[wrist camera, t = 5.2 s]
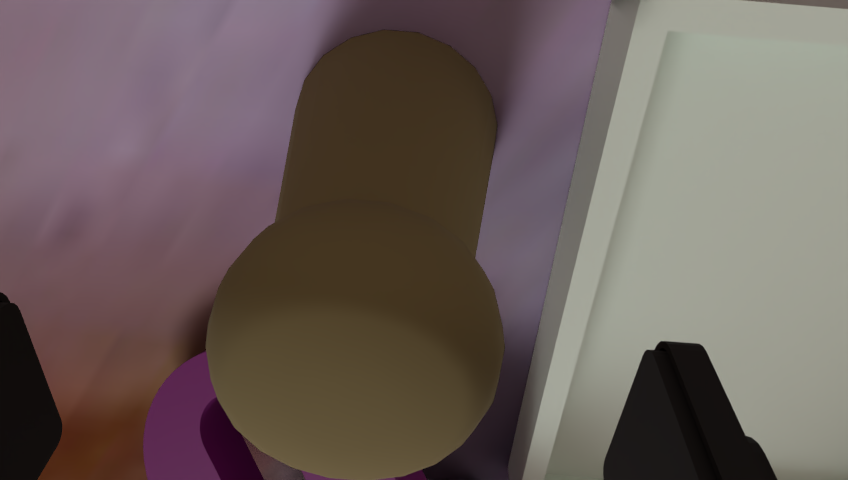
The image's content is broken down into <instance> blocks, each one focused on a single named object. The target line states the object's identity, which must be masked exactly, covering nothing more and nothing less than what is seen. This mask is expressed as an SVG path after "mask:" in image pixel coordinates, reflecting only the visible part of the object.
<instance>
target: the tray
mask: <svg viewBox="0 0 848 480" xmlns="http://www.w3.org/2000/svg"><path fill="white" fill-rule="evenodd" d="M660 341H670V342H684V343H698V344H701V345H702V346H703V347H704V348H705V350H706V352H707V354H708V356H709V358H710V360H711V362H712V364H713V367H714V369H715V371H716V373H717V375H718V377H719V380H720V382H721V384H722V386H723V388H724V390H725V392H726V395H727V397H728V399H729V401H730V403H731V405H732V408H733V410H734V412H735V414H736V416H737V418H738V421H739V423H740V425H741V427H742V429H743V431H744V433H745V436H748V437H752V438H753V439H754V440H755V441H756V442H758V443H759V445H760V446H761V448H762V450H763V451H764V453H765V455H766V457H767V459H768V461H769V463H770V465H771V467H772V469H773V471H774V473H775V475H776V477H777V480H848V0H612V1H611V5H610V10H609V14H608V18H607V23H606V27H605V32H604V36H603V41H602V45H601V50H600V54H599V59H598V63H597V68H596V72H595V77H594V81H593V86H592V90H591V95H590V99H589V104H588V108H587V113H586V117H585V122H584V126H583V131H582V135H581V140H580V144H579V149H578V153H577V158H576V162H575V167H574V171H573V176H572V180H571V185H570V189H569V194H568V198H567V203H566V207H565V212H564V216H563V221H562V225H561V230H560V234H559V239H558V243H557V248H556V252H555V257H554V261H553V266H552V270H551V275H550V279H549V284H548V288H547V293H546V297H545V302H544V306H543V311H542V315H541V320H540V324H539V329H538V333H537V338H536V342H535V347H534V351H533V355H532V360H531V364H530V369H529V373H528V378H527V382H526V387H525V391H524V396H523V400H522V405H521V409H520V414H519V418H518V423H517V427H516V432H515V436H514V441H513V445H512V450H511V454H510V459H509V463H508V478H509V480H604V479H603V466H604V460H605V457H606V454H607V452H608V449H609V446H610V443H611V441H612V438H613V435H614V433H615V430H616V427H617V424H618V422H619V419H620V416H621V413H622V411H623V408H624V405H625V402H626V400H627V397H628V394H629V392H630V389H631V386H632V383H633V381H634V378H635V375H636V372H637V370H638V367H639V364H640V362H641V359H642V356H643V354H644V352H645V351H646V350H655V348H656V346H657V344H658V343H659V342H660Z"/></svg>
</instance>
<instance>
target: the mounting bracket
mask: <svg viewBox="0 0 848 480" xmlns="http://www.w3.org/2000/svg"><path fill="white" fill-rule="evenodd" d="M143 449H144V462H145V468H146V474H147V478H148V480H264V479H263V477H262V475H261V473H260V471H259V469H258V467H257V465H256V463H255V461H254V459H253V457H252V455H251V453H250V451H249V449H248V447H247V445H246V443H245V441H244V439H243V437H242V435H241V433H240V432H239V431H238V430H236V429H235V428H234V426H233V424H232V423H231V421H230V419H229V418H228V416H227V414H226V413H225V411H224V409H223V408H222V406H221V404H220V403H219V401H218V398H217V396H216V393H215V390H214V388H213V385H212V382H211V379H210V372H209V366H208V359H207V353H206V350H205V351H203V352H201V353H200V354H198V355H196V356H195V357H193V358H191V359H190V360H188V361H186V362H185V363H183V364H182V365H181V366H180V367H178V368H177V369H176V370H175V371H174V372H173V373H172V374H171V375H170V376H169V377H168V378H167V379H166V380H165V382H164V383H163V384H162V386H161V387H160V389H159V390H158V392H157V394H156V396H155V398H154V399H153V402H152V404H151V407H150V409H149V412H148V416H147V420H146V424H145V431H144V445H143ZM301 471H302V470H301ZM302 473H303V475H304V477H305V479H306V480H348V479H335V478H327V477H324V476H320V475H316V474H313V473H309V472H306V471H302ZM378 480H427V479H426V477H425V475H424V473H423V471H422V470H419V471H416V472H413V473H411V474H408V475H405V476H401V477H394V478H386V479H378Z"/></svg>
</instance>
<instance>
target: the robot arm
mask: <svg viewBox="0 0 848 480" xmlns="http://www.w3.org/2000/svg"><path fill="white" fill-rule="evenodd" d="M61 433H62V422H61V418H60V416H59V413H58V410H57V408H56V405H55V402H54V400H53V397H52V394H51V392H50V389H49V386H48V384H47V381H46V378H45V376H44V373H43V370H42V368H41V365H40V363H39V360H38V357H37V355H36V352H35V349H34V347H33V344H32V341H31V339H30V336H29V333H28V331H27V328H26V325H25V323H24V320H23V317H22V315H21V312H20V310H19V308H18V306H17V305H15V304H14V303H10V301H9V300H8V298H7V296H6V295H4V294H3V293H0V480H37V479H38V477H39V476H40V474H41V472H42V471H43V469H44V467H45V466H46V464H47V462H48V461H49V459H50V457H51V456H52V454H53V452H54V451H55V449H56V447H57V445H58V443H59V441H60V438H61ZM603 479H604V480H777V477H776V475H775V473H774V471H773V469H772V467H771V465H770V463H769V461H768V459H767V457H766V455H765V453H764V451H763V450H762V448H761V446H760V445H759V443H758V442H756V441H755V440H754V439H753V438H752V437H748V436H745V433H744V431H743V429H742V427H741V425H740V423H739V421H738V418H737V416H736V414H735V412H734V410H733V408H732V405H731V403H730V401H729V399H728V397H727V395H726V392H725V390H724V388H723V386H722V384H721V382H720V380H719V377H718V375H717V373H716V371H715V369H714V367H713V364H712V362H711V360H710V358H709V356H708V354H707V352H706V350H705V348H704V347H703V346H702V345H701V344H698V343H684V342H670V341H660V342H659V343H658V344H657V346H656V348H655V350H646V351H645V352H644V354H643V356H642V359H641V362H640V364H639V367H638V370H637V372H636V375H635V378H634V381H633V383H632V386H631V389H630V392H629V394H628V397H627V400H626V402H625V405H624V408H623V411H622V413H621V416H620V419H619V422H618V424H617V427H616V430H615V433H614V435H613V438H612V441H611V443H610V446H609V449H608V452H607V454H606V457H605V460H604V466H603Z"/></svg>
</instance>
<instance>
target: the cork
mask: <svg viewBox="0 0 848 480" xmlns="http://www.w3.org/2000/svg"><path fill="white" fill-rule="evenodd" d="M496 131H497V121H496V116H495V111H494V106H493V101H492V96H491V94H490V92H489V91H488V89H487V87H486V85H485V84H484V82H483V80H482V79H481V77H480V75H479V74H478V72H477V70H476V68H475V67H474V66H472V65H471V64H470V63H469V62H468V61H467V60H466V59H464V58H463V57H462V56H461V55H460V54H459V53H457V52H456V51H455V50H454V49H453V48H452V47H451V46H449V45H446V44H444V43H442V42H439V41H437V40H435V39H432V38H430V37H427V36H425V35H423V34H420V33H417V32H405V31H392V30H381V31H377V32H373V33H369V34H364V35H360V36H356V37H352V38H350V39H348V40H347V41H345V42H344V43H342V44H340V45H339V46H337V47H336V48H334V49H333V50H331V51H330V52H328V53H327V54H325V55H323V57H322V58H321V59H320V61H319V62H318V63H317V65H316V66H315V67H314V69H313V70H312V71H311V72H310V74H309V75H308V76H307V78H306V79H305V80H304V84H303V87H302V90H301V93H300V96H299V100H298V103H297V106H296V109H295V115H294V120H293V126H292V131H291V137H290V142H289V148H288V153H287V159H286V164H285V170H284V175H283V181H282V186H281V192H280V197H279V203H278V208H277V213H276V219H275V223H273V224H272V225H270V226H268V227H267V228H266V229H265V230H264V231H262V232H261V233H260V234H259V235H258V236H257V237H256V238H254V239H253V240H252V242H251V243H250V244H249V245H248V246H247V248H246V249H245V250H244V251H243V252H242V253H241V255H240V256H239V257H238V258H237V259H236V261H235V262H234V263H233V264H232V265H231V267H230V268H229V269H228V271H227V273H226V275H225V277H224V279H223V280H222V282H221V284H220V286H219V288H218V291H217V294H216V298H215V301H214V305H213V308H212V311H211V315H210V318H209V322H208V328H207V338H206V353H207V359H208V366H209V372H210V379H211V382H212V385H213V388H214V390H215V393H216V396H217V398H218V401H219V403H220V404H221V406H222V408H223V409H224V411H225V413H226V414H227V416H228V418H229V419H230V421H231V423H232V424H233V426H234V428H235V429H236V430H238V431H239V432H240V433H241V434H242V435H243V436H244V437H245V438H246V439H248V440H249V441H250V442H251V443H252V444H253V445H254V446H255V447H257V448H258V449H259V450H260V451H262V452H263V453H265V454H267V455H269V456H271V457H273V458H275V459H277V460H279V461H281V462H283V463H284V464H286V465H288V466H290V467H292V468H295V469H299V470H302V471H306V472H309V473H313V474H316V475H320V476H324V477H327V478H335V479H348V480H378V479H386V478H394V477H401V476H405V475H408V474H411V473H413V472H416V471H419V470H422V469H424V468H427V467H430V466H432V465H435V464H437V463H438V462H440V461H441V460H442V459H444V458H445V457H446V456H448V455H449V454H451V453H452V452H453V451H455V450H456V449H457V448H459V447H460V446H462V444H463V443H464V442H465V441H466V440H467V438H468V437H469V436H470V435H471V433H472V432H473V431H474V430H475V428H476V427H477V425H478V424H479V422H480V421H481V419H482V418H483V416H484V415H485V413H486V412H487V411H488V409H489V408H490V406H491V405H492V403H493V401H494V397H495V393H496V389H497V385H498V381H499V376H500V371H501V365H502V360H503V355H504V349H505V343H504V335H503V327H502V321H501V317H500V313H499V309H498V305H497V300H496V296H495V292H494V289H493V287H492V285H491V283H490V281H489V279H488V278H487V276H486V274H485V272H484V271H483V269H482V268H481V266H480V265H479V263H478V262H477V261H476V259H475V256H476V250H477V244H478V238H479V233H480V227H481V221H482V215H483V210H484V204H485V198H486V193H487V187H488V181H489V175H490V170H491V164H492V158H493V152H494V145H495V138H496Z"/></svg>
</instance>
